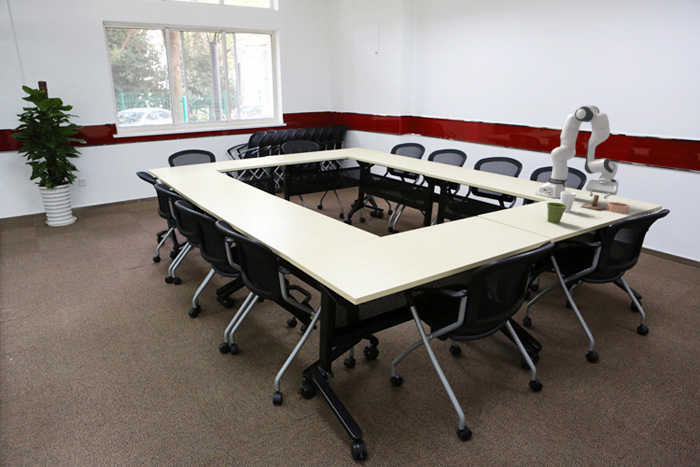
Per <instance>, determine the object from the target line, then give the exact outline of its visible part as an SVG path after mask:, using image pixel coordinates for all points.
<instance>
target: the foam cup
mask: <svg viewBox="0 0 700 467" xmlns="http://www.w3.org/2000/svg"><path fill="white" fill-rule="evenodd" d="M576 197H577V193H576V192H575V191H568V190H565V191H562V192H561V198H560V201H559V202H560V203H561V204H564V205H567V207H566V209H565V211H564V213H570V212H571V209H572V208H573V204H574V202H575V199H576Z"/></svg>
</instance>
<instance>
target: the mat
mask: <svg viewBox="0 0 700 467" xmlns="http://www.w3.org/2000/svg"><path fill="white" fill-rule="evenodd" d="M580 208H582V209H587V208H585V207H583V205H580ZM587 210H588V209H587ZM590 210H592V209H590ZM605 210H607V207H605ZM592 211H593V210H592ZM595 211H596V212H602V211H603V210H595Z"/></svg>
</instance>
